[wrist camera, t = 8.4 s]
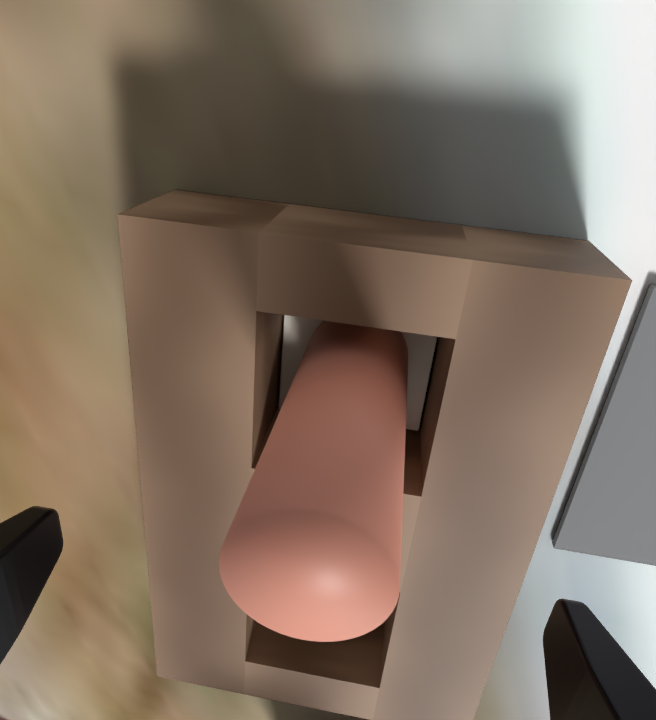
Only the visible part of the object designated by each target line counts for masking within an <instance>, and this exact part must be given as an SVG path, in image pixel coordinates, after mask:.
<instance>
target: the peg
mask: <svg viewBox="0 0 656 720" xmlns="http://www.w3.org/2000/svg"><path fill="white" fill-rule="evenodd" d="M407 382H408V348H407V344H406V341H405V339H404V337H403V335H402V333H401V332H400V331H394V330H387V329H380V328H373V327H366V326H359V325H352V324H345V323H337V322H330V321H323V322H322V323H321V324H320V325H319V326H318V327H317V328H316V330H315V331H314V333H313V335H312V337H311V340H310V342H309V344H308V347H307V349H306V351H305V354H304V356H303V358H302V361H301V363H300V365H299V368H298V370H297V372H296V375H295V377H294V379H293V382H292V384H291V386H290V389H289V391H288V393H287V396H286V398H285V400H284V403H283V405H282V407H281V410H280V412H279V414H278V417H277V419H276V421H275V424H274V426H273V428H272V431H271V433H270V435H269V438H268V440H267V442H266V445H265V447H264V449H263V452H262V454H261V456H260V459H259V461H258V463H257V466H256V468H255V470H254V473H253V475H252V477H251V480H250V482H249V484H248V487H247V489H246V491H245V494H244V496H243V498H242V501H241V503H240V505H239V508H238V510H237V512H236V515H235V517H234V519H233V522H232V524H231V526H230V529H229V531H228V533H227V536H226V538H225V540H224V543H223V545H222V548H221V551H220V555H219V571H220V575H221V579H222V582H223V584H224V587H225V589H226V590H227V592H228V594H229V595H230V597H231V598H232V600H233V601H234V602H235V603H236V605H237V606H238V607H239V608H240V609H241V610H242V611H243V612H245V613H246V614H247V615H248V616H250V617H251V618H252V619H254V620H255V621H257V622H258V623H260V624H261V625H263V626H265V627H267V628H269V629H271V630H273V631H276V632H278V633H280V634H283V635H286V636H289V637H293V638H297V639H301V640H308V641H317V642H335V641H342V640H348V639H352V638H356V637H359V636H361V635H364V634H366V633H368V632H370V631H372V630H374V629H375V628H377V627H378V626H380V625H381V624H382V623H383V622H384V621H385V620H386V619H387V618H388V617H389V616H390V614H391V613H392V612H393V610H394V608H395V606H396V604H397V601H398V598H399V591H400V571H401V544H402V517H403V490H404V463H405V436H406V409H407Z"/></svg>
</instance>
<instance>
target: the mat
mask: <svg viewBox="0 0 656 720" xmlns="http://www.w3.org/2000/svg"><path fill="white" fill-rule="evenodd" d="M552 543H553V547H554V548H556V549H561V550H567V551H573V552H579V553H585V554H591V555H596V556H602V557H608V558H614V559H620V560H625V561H631V562H637V563H643V564H649V565H655V566H656V285H652V284H650V286H649V288H648V291H647V294H646V296H645V299H644V302H643V304H642V307H641V309H640V312H639V315H638V317H637V320H636V323H635V325H634V328H633V331H632V333H631V336H630V338H629V341H628V344H627V346H626V349H625V352H624V354H623V357H622V359H621V362H620V365H619V367H618V370H617V373H616V375H615V378H614V381H613V383H612V386H611V388H610V391H609V394H608V396H607V399H606V402H605V404H604V407H603V410H602V412H601V415H600V417H599V420H598V423H597V425H596V428H595V431H594V433H593V436H592V438H591V441H590V444H589V446H588V449H587V452H586V454H585V457H584V460H583V462H582V465H581V467H580V470H579V473H578V475H577V478H576V481H575V483H574V486H573V489H572V491H571V494H570V496H569V499H568V502H567V504H566V507H565V510H564V512H563V515H562V518H561V520H560V523H559V525H558V528H557V531H556V533H555V536H554V539H553V541H552Z"/></svg>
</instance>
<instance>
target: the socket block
mask: <svg viewBox="0 0 656 720" xmlns="http://www.w3.org/2000/svg"><path fill="white" fill-rule="evenodd" d="M117 215H118V227H119V238H120V250H121V261H122V273H123V285H124V296H125V308H126V319H127V331H128V343H129V354H130V366H131V377H132V389H133V401H134V412H135V424H136V435H137V447H138V459H139V470H140V482H141V493H142V505H143V517H144V528H145V540H146V551H147V563H148V575H149V586H150V598H151V609H152V621H153V633H154V644H155V656H156V667H157V676H158V677H163V678H168V679H173V680H178V681H182V682H187V683H192V684H197V685H202V686H207V687H212V688H217V689H222V690H226V691H231V692H236V693H241V694H246V695H251V696H256V697H261V698H266V699H271V700H275V701H280V702H285V703H290V704H295V705H300V706H305V707H310V708H315V709H319V710H324V711H329V712H334V713H339V714H344V715H349V716H354V717H359V718H363V719H368V720H473V718H474V715H475V712H476V710H477V707H478V704H479V701H480V699H481V696H482V693H483V690H484V688H485V685H486V682H487V679H488V677H489V674H490V671H491V668H492V666H493V663H494V660H495V657H496V655H497V652H498V649H499V646H500V643H501V641H502V638H503V635H504V632H505V630H506V627H507V624H508V621H509V619H510V616H511V613H512V610H513V608H514V605H515V602H516V599H517V597H518V594H519V591H520V588H521V586H522V583H523V580H524V577H525V575H526V572H527V569H528V566H529V563H530V561H531V558H532V555H533V552H534V550H535V547H536V544H537V541H538V539H539V536H540V533H541V530H542V528H543V525H544V522H545V519H546V517H547V514H548V511H549V508H550V506H551V503H552V500H553V497H554V495H555V492H556V489H557V486H558V484H559V481H560V478H561V475H562V472H563V470H564V467H565V464H566V461H567V459H568V456H569V453H570V450H571V448H572V445H573V442H574V439H575V437H576V434H577V431H578V428H579V426H580V423H581V420H582V417H583V415H584V412H585V409H586V406H587V404H588V401H589V398H590V395H591V393H592V390H593V387H594V384H595V381H596V379H597V376H598V373H599V370H600V368H601V365H602V362H603V359H604V357H605V354H606V351H607V348H608V346H609V343H610V340H611V337H612V335H613V332H614V329H615V326H616V324H617V321H618V318H619V315H620V313H621V310H622V307H623V304H624V302H625V299H626V296H627V293H628V290H629V288H630V285H631V282H632V280H631V279H630V278H629V277H628V276H627V275H626V274H625V273H623V272H622V271H621V270H620V269H619V268H618V267H617V266H616V265H615V264H614V263H612V262H611V261H610V260H609V259H608V258H607V257H606V256H605V255H604V254H603V253H601V252H600V251H599V250H598V249H597V248H596V247H595V246H594V245H593V244H592V243H590V242H589V241H587V240H579V239H571V238H563V237H554V236H546V235H538V234H530V233H522V232H514V231H506V230H497V229H489V228H481V227H473V226H465V225H457V224H449V223H441V222H432V221H424V220H416V219H408V218H400V217H392V216H384V215H376V214H367V213H359V212H351V211H343V210H335V209H327V208H319V207H311V206H302V205H294V204H286V203H278V202H270V201H262V200H254V199H246V198H237V197H229V196H221V195H213V194H205V193H197V192H189V191H181V190H173V191H170V192H168V193H166V194H163V195H161V196H159V197H156V198H154V199H152V200H149V201H147V202H145V203H143V204H140V205H138V206H136V207H133V208H131V209H129V210H126V211H124V212H122V213H119V214H117ZM283 315H284V333H283V350H282V367H281V384H280V402H279V407H278V399H279V381H280V363H281V346H282V328H283ZM323 321H330V322H337V323H345V324H352V325H359V326H366V327H373V328H380V329H387V330H394V331H400V332H401V333H402V335H403V337H404V339H405V341H406V344H407V348H408V382H407V409H406V436H405V463H404V490H403V517H402V544H401V571H400V591H399V598H398V601H397V604H396V606H395V608H394V610H393V612H392V613H391V614H390V616H389V617H388V618H387V619H386V620H385V621H384V622H383V623H382V624H381V625H380V626H378V627H377V628H375V629H374V630H372V631H370V632H368V633H366V634H364V635H361V636H359V637H356V638H352V639H348V640H342V641H335V642H317V641H308V640H301V639H297V638H293V637H289V636H286V635H283V634H280V633H278V632H276V631H273V630H271V629H269V628H267V627H265V626H263V625H261V624H260V623H258V622H257V621H255V620H254V619H252V618H251V617H250V616H248V615H247V614H246V613H245V612H243V611H242V610H241V609H240V608H239V607H238V606H237V605H236V603H235V602H234V601H233V600H232V598H231V597H230V595H229V594H228V592H227V590H226V589H225V587H224V584H223V582H222V579H221V575H220V571H219V555H220V551H221V548H222V545H223V543H224V540H225V538H226V536H227V533H228V531H229V529H230V526H231V524H232V522H233V519H234V517H235V515H236V512H237V510H238V508H239V505H240V503H241V501H242V498H243V496H244V494H245V491H246V489H247V487H248V484H249V482H250V480H251V477H252V475H253V473H254V470H255V468H256V466H257V463H258V461H259V459H260V456H261V454H262V452H263V449H264V447H265V445H266V442H267V440H268V438H269V435H270V433H271V431H272V428H273V426H274V424H275V421H276V419H277V417H278V414H279V412H280V410H281V407H282V405H283V403H284V400H285V398H286V396H287V393H288V391H289V389H290V386H291V384H292V382H293V379H294V377H295V375H296V372H297V370H298V368H299V365H300V363H301V361H302V358H303V356H304V354H305V351H306V349H307V347H308V344H309V342H310V340H311V337H312V335H313V333H314V331H315V330H316V328H317V327H318V326H319V325H320V324H321V323H322V322H323ZM437 337H439V341H438V346H437V351H436V356H435V361H434V365H433V370H432V375H431V380H430V385H429V390H428V395H427V400H426V405H425V410H424V415H423V420H422V425H421V429H419V425H420V420H421V415H422V410H423V405H424V400H425V395H426V390H427V385H428V380H429V375H430V370H431V365H432V360H433V355H434V350H435V345H436V340H437Z"/></svg>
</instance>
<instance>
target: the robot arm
mask: <svg viewBox="0 0 656 720" xmlns="http://www.w3.org/2000/svg"><path fill="white" fill-rule="evenodd" d="M62 548H63V537H62V531H61V526H60V520H59V515H58V513H57V511H56V510H54V509H51V508H46V507H40V506H33V507H30V508H28V509H26V510H24V511H22V512H21V513H19V514H17V515H15V516H13V517H11V518H9V519H7V520H5V521H4V522H2V523H0V664H1V662H2V661H3V659H4V658H5V656H6V655H7V653H8V651H9V650H10V648H11V647H12V645H13V644H14V642H15V640H16V639H17V637H18V635H19V634H20V632H21V630H22V628H23V626H24V625H25V623H26V621H27V619H28V617H29V615H30V613H31V611H32V609H33V607H34V605H35V603H36V601H37V600H38V598H39V596H40V594H41V592H42V590H43V588H44V586H45V584H46V582H47V580H48V578H49V576H50V574H51V572H52V570H53V568H54V566H55V564H56V562H57V561H58V559H59V557H60V554H61V552H62ZM543 647H544V657H545V668H546V678H547V689H548V699H549V709H550V720H656V689H655V688H654V687H653V686H652V684H651V683H650V682H649V681H648V680H647V678H646V677H645V676H644V675H643V673H642V672H641V671H640V670H639V669H638V667H637V666H636V665H635V664H634V663H633V661H632V660H631V659H630V658H629V657H628V655H627V654H626V653H625V652H624V650H623V649H622V648H621V647H620V646H619V644H618V643H617V642H616V641H615V640H614V638H613V637H612V636H611V635H610V633H609V632H608V631H607V630H606V629H605V627H604V626H603V625H602V624H601V623H600V621H599V620H598V619H597V618H596V617H595V615H594V614H593V613H592V612H591V610H590V609H589V608H588V607H587V606H586V605H585V604H584V603H582V602H578V601H572V600H567V599H559V600H557V601H556V603H555V605H554V607H553V610H552V612H551V615H550V617H549V619H548V622H547V624H546V627H545V630H544V635H543Z"/></svg>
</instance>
